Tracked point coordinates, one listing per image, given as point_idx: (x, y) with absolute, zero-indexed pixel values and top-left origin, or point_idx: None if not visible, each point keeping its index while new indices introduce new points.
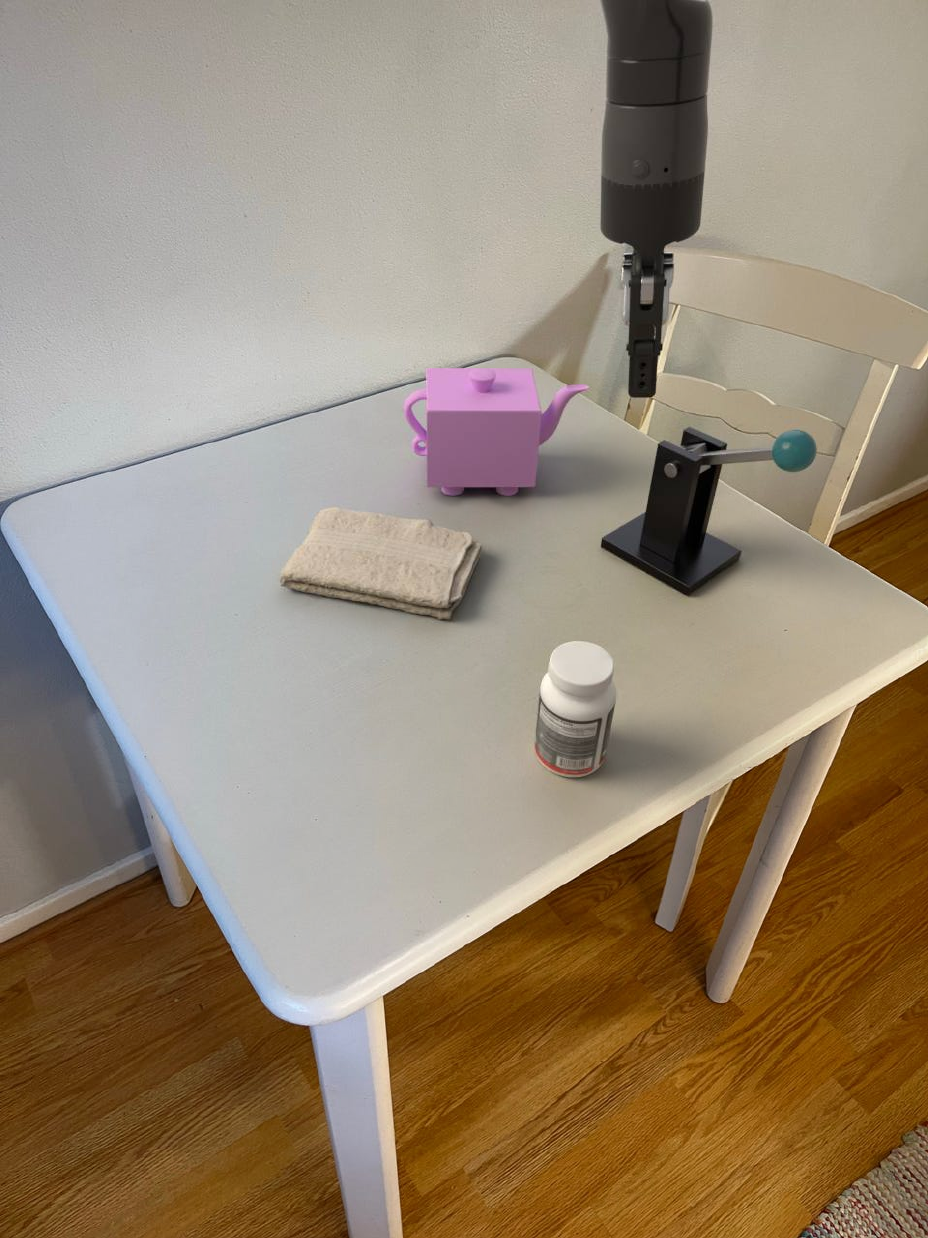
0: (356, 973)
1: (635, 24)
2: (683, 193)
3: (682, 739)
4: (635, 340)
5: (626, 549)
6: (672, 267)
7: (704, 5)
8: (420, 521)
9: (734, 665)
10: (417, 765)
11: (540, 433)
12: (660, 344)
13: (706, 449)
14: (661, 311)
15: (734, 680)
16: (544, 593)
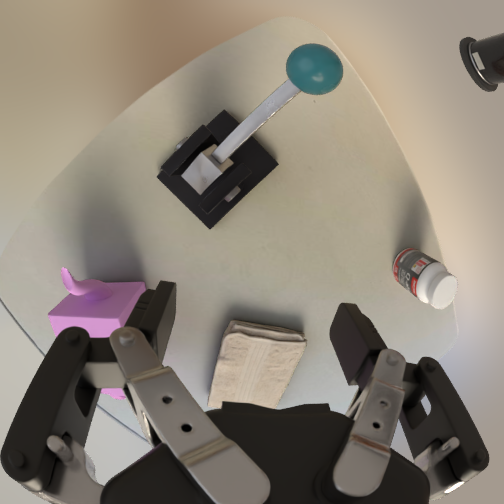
0: (456, 330)
1: None
2: None
3: (405, 202)
4: (415, 405)
5: (226, 210)
6: (376, 485)
7: None
8: (220, 364)
9: (351, 150)
10: (397, 331)
11: (106, 293)
12: (444, 372)
13: (205, 150)
14: (468, 416)
15: (365, 154)
16: (274, 274)
